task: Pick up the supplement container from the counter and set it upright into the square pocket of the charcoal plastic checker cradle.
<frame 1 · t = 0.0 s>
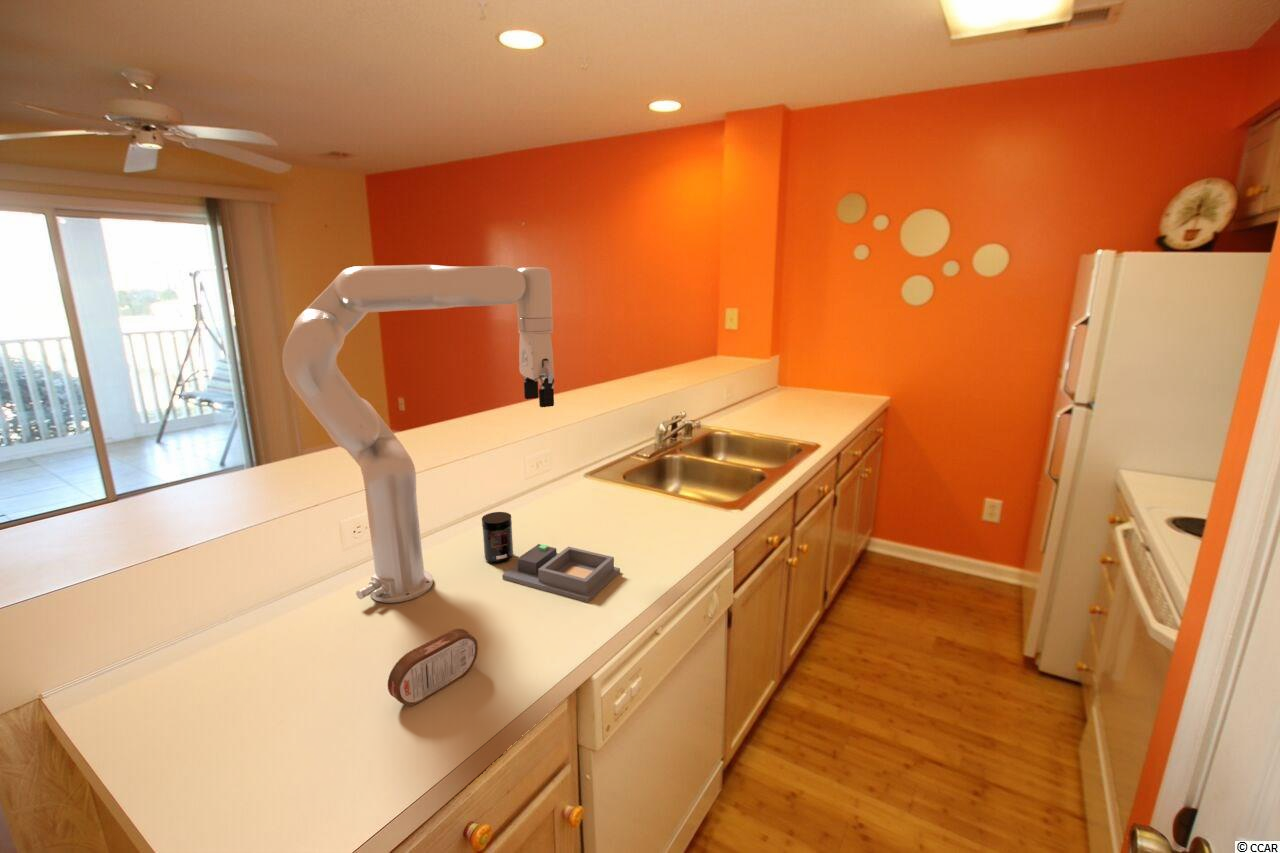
hand: (538, 402, 131), 37 cm above the worktop, tool pointing down, fingers open, 9 cm apart
supplement container: (499, 558, 138), on the worktop
checker cradle: (561, 575, 130), on the worktop
tin: (438, 688, 95), on the worktop
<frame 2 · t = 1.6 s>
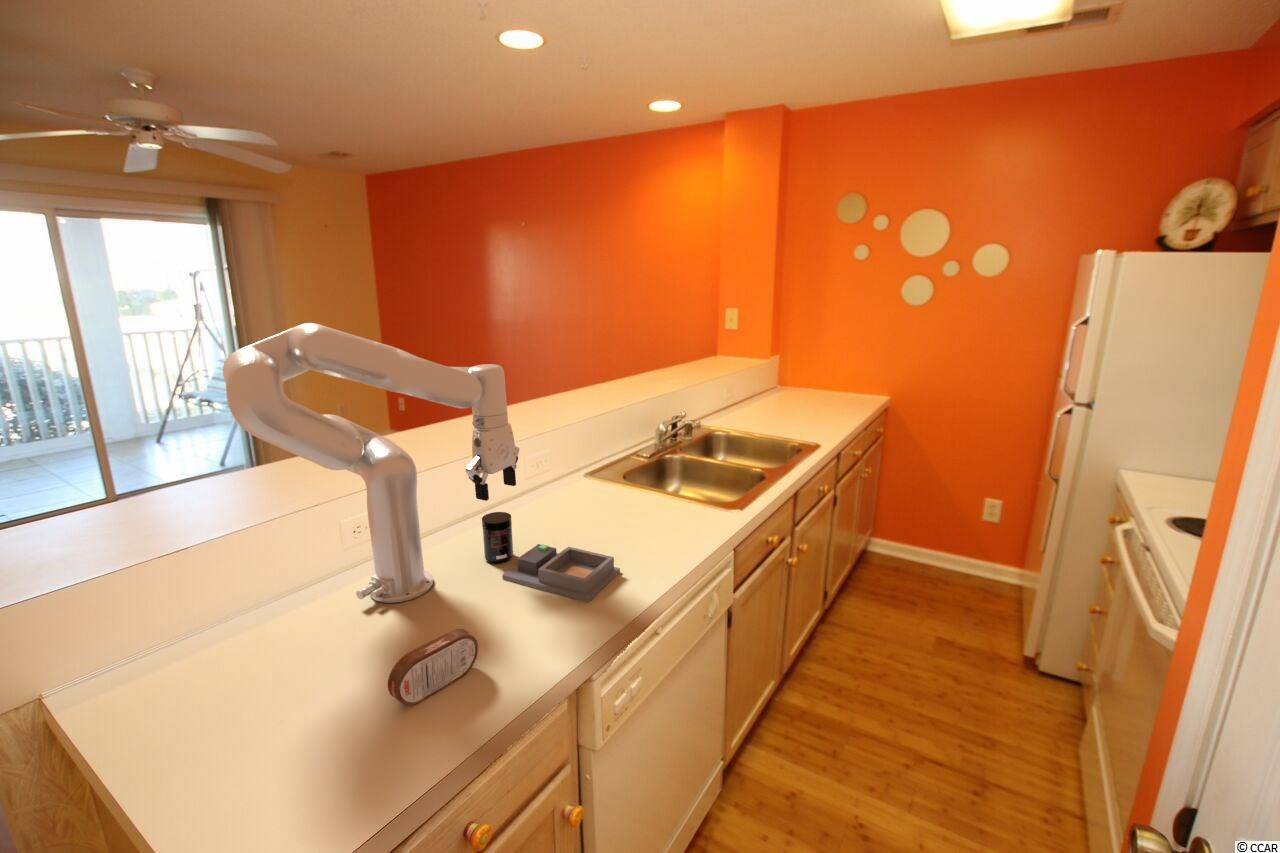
hand: (496, 492, 134), 17 cm above the worktop, tool pointing down, fingers open, 9 cm apart
nothing on the worktop moved.
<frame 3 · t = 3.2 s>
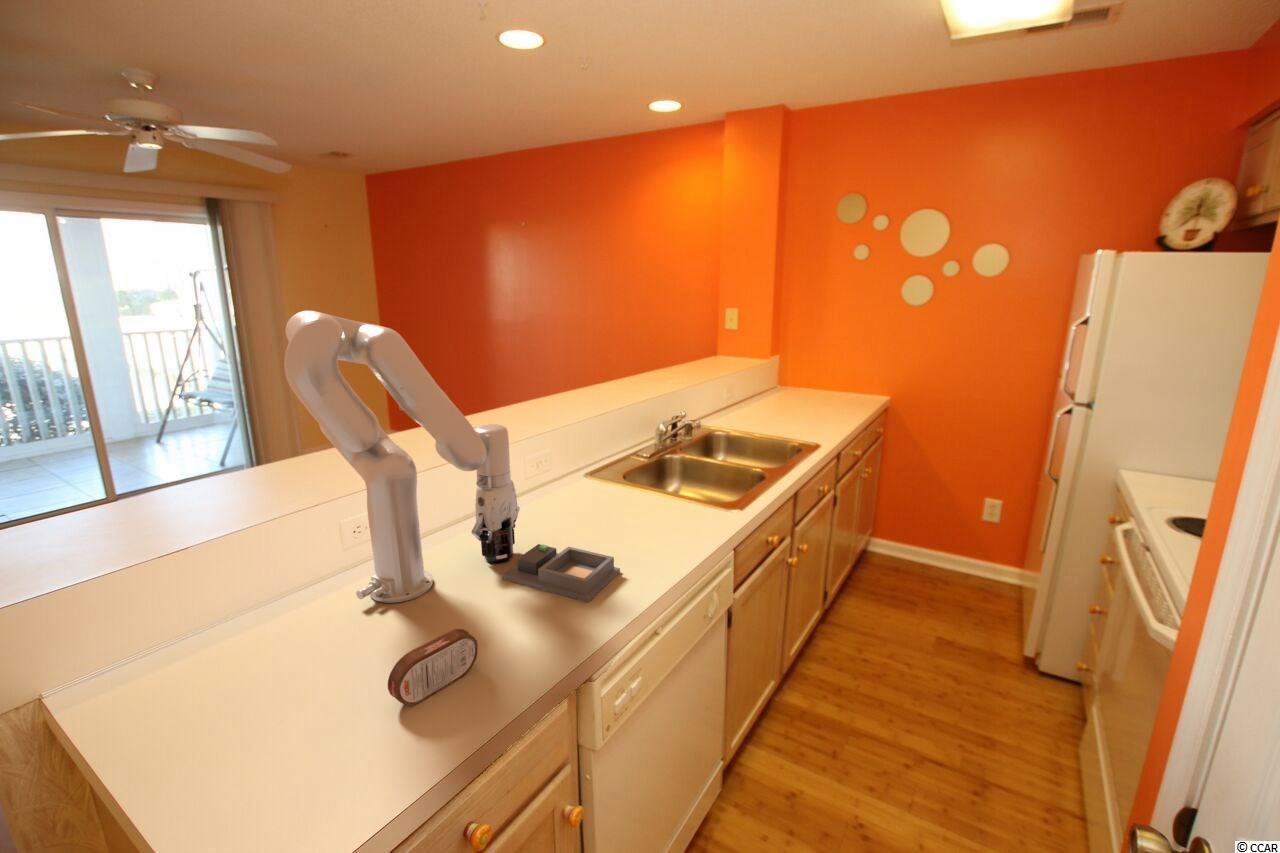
hand: (498, 549, 138), 2 cm above the worktop, tool pointing down, fingers closed on supplement container, 6 cm apart
supplement container: (499, 558, 138), on the worktop, touching gripper
everything else where it was.
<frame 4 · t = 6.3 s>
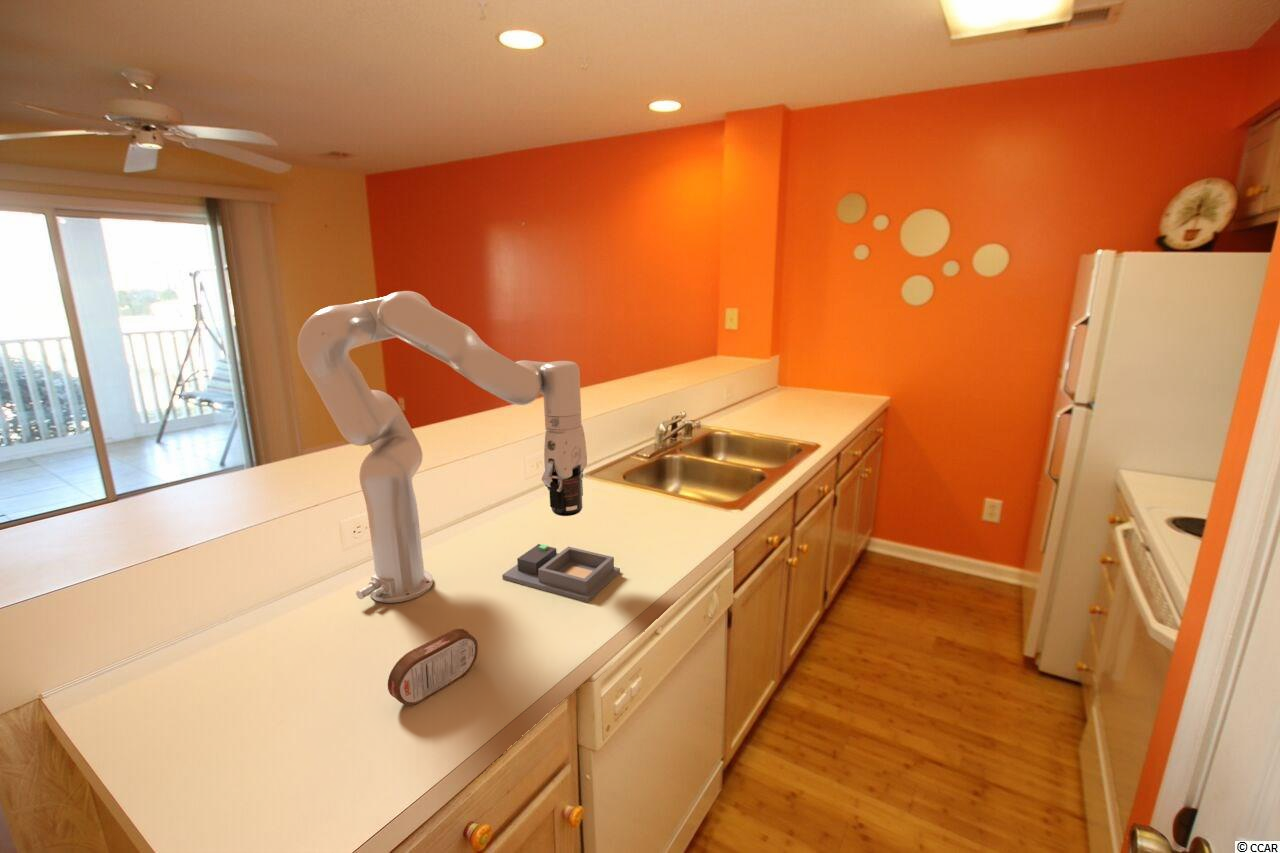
hand: (566, 501, 125), 18 cm above the worktop, tool pointing down, fingers closed on supplement container, 6 cm apart
supplement container: (567, 511, 126), point 16 cm above the worktop, touching gripper
everything else where it was.
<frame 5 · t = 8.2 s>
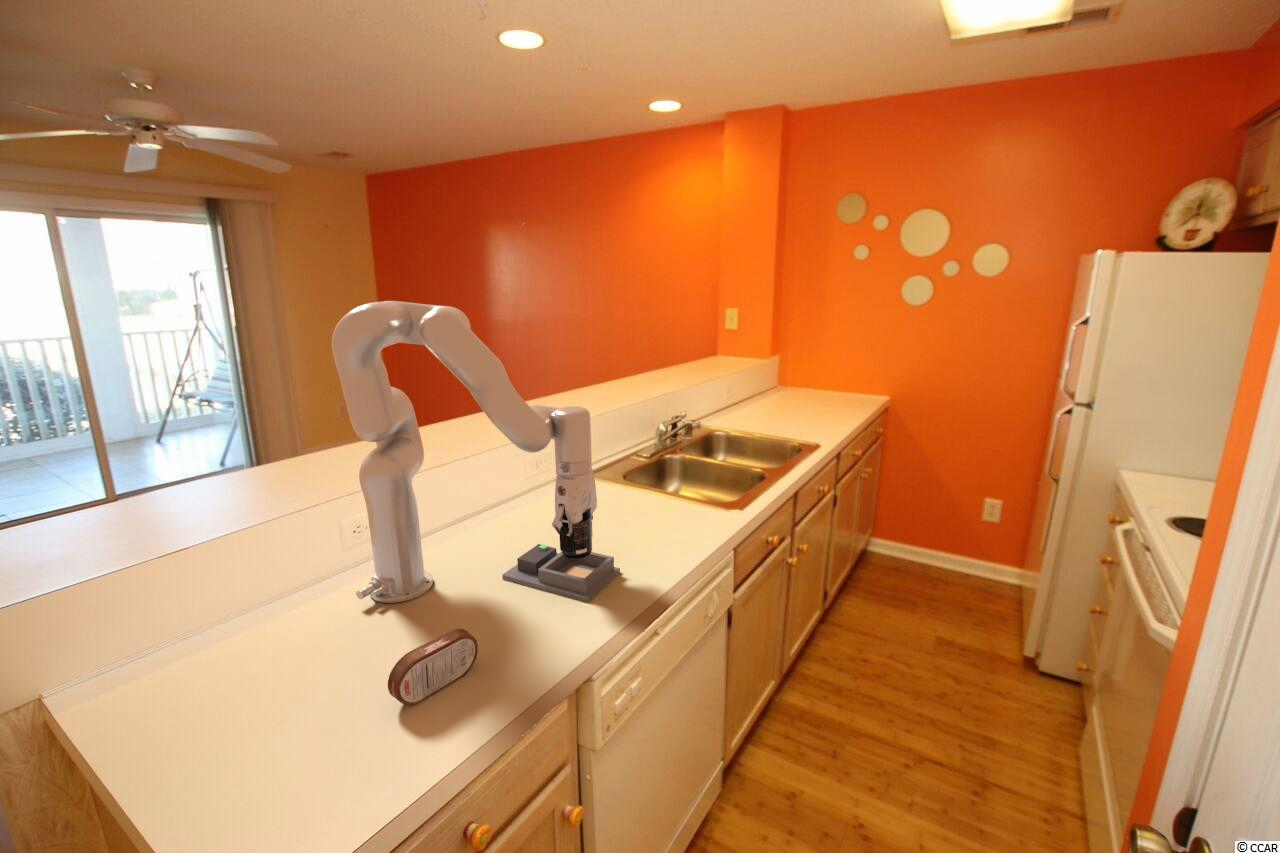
hand: (576, 543, 126), 9 cm above the worktop, tool pointing down, fingers closed on supplement container, 6 cm apart
supplement container: (577, 553, 127), point 6 cm above the worktop, touching gripper
everything else where it was.
when the fingers open (6 cm above the worktop, at t = 9.4 s): supplement container drops 2 cm, resting on checker cradle.
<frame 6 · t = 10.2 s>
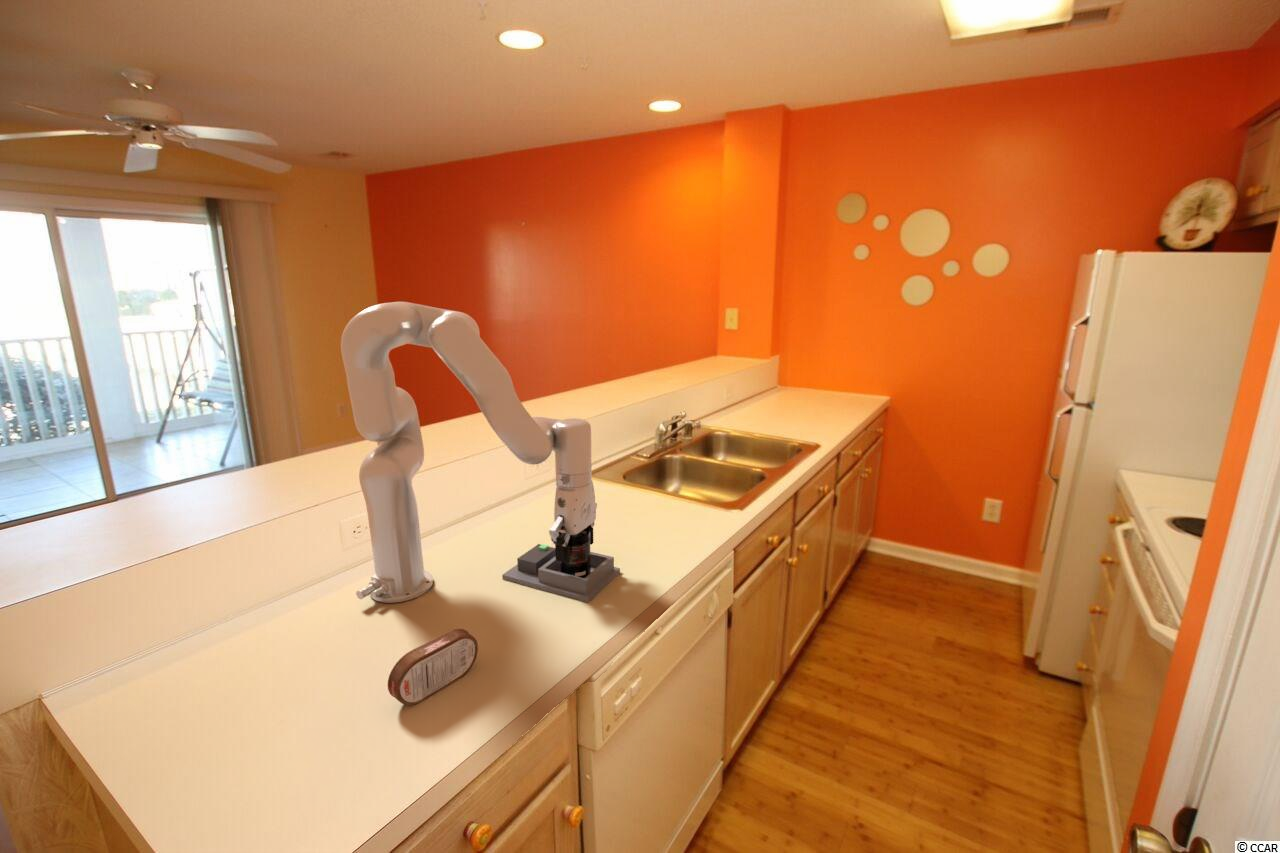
hand: (575, 551, 127), 7 cm above the worktop, tool pointing down, fingers open, 9 cm apart
supplement container: (575, 575, 128), point 1 cm above the worktop, touching checker cradle
everything else where it was.
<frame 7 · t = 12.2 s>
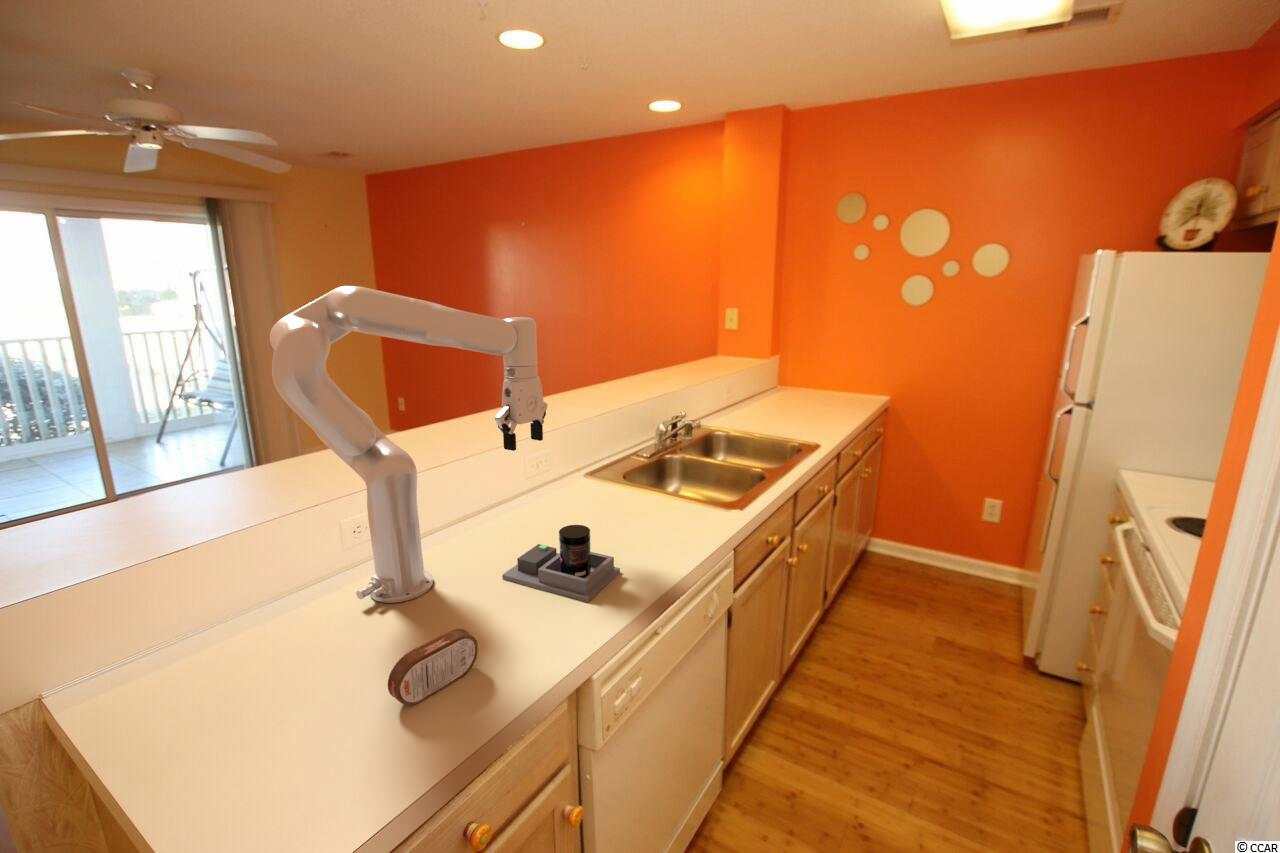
hand: (523, 444, 137), 26 cm above the worktop, tool pointing down, fingers open, 9 cm apart
nothing on the worktop moved.
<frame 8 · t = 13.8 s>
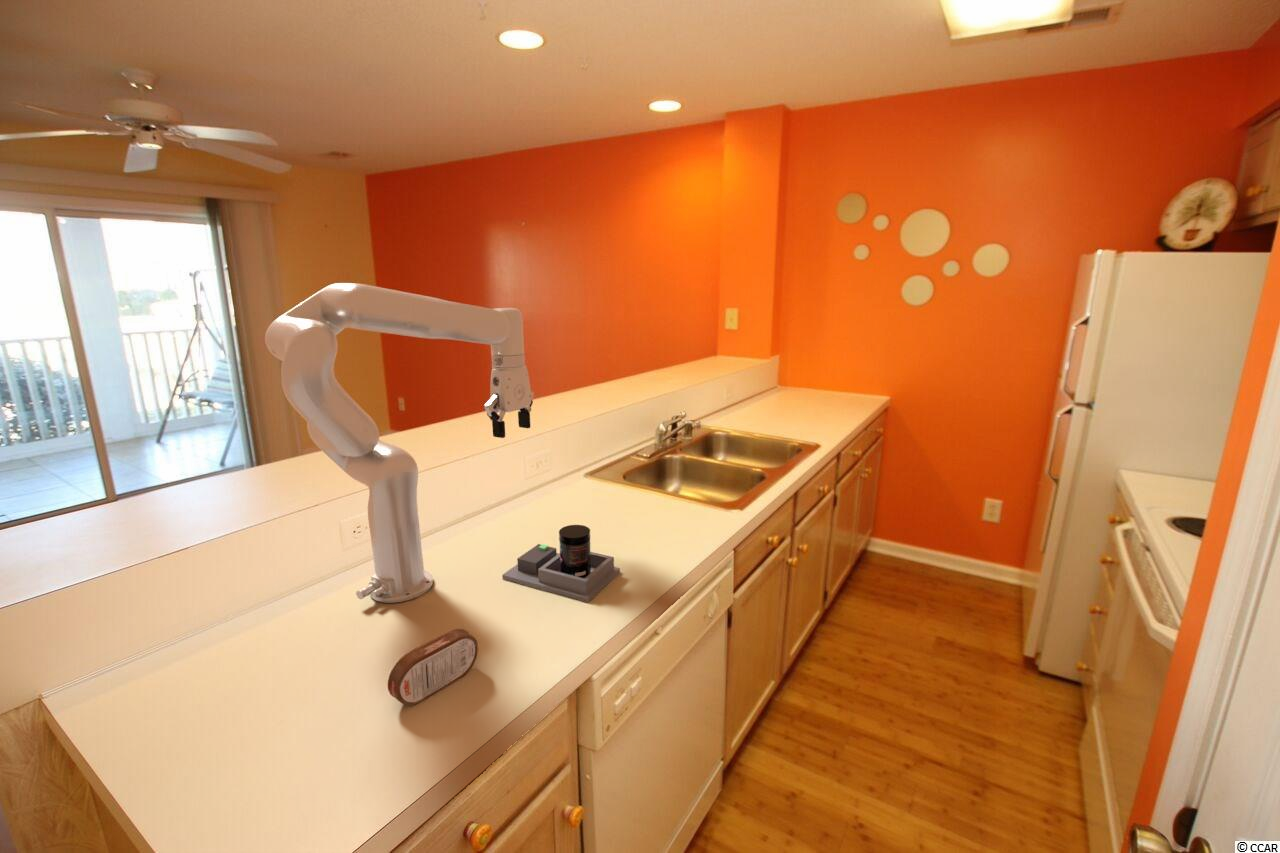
hand: (512, 432, 140), 28 cm above the worktop, tool pointing down, fingers open, 9 cm apart
nothing on the worktop moved.
at the end: supplement container 0.3 cm from the target spot on the checker cradle, point 1.0 cm above the checker cradle's base; supplement container tilted 0°; the gripper is holding nothing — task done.
